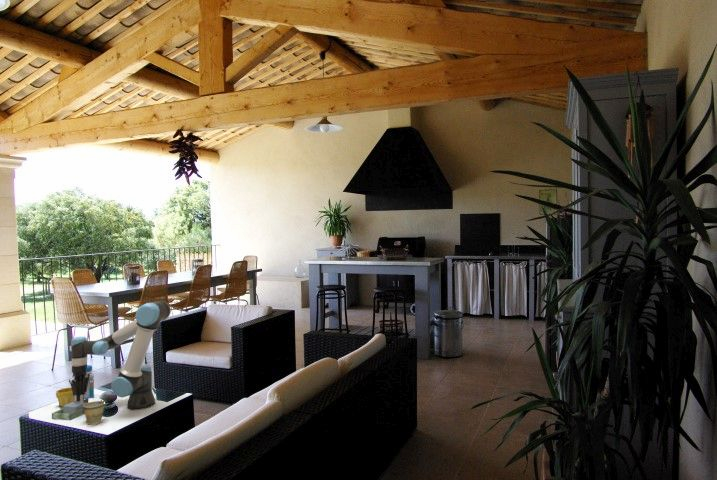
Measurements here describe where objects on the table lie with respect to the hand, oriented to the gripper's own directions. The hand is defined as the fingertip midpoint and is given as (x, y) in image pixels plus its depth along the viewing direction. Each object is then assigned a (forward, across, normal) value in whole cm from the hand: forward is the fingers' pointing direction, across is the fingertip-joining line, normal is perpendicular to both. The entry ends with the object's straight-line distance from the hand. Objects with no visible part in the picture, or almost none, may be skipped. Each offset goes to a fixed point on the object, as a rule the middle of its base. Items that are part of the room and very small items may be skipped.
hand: (80, 406), depth 271 cm
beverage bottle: (+4, -22, -16) cm, 27 cm away
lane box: (+4, +1, 0) cm, 4 cm away
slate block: (+2, +4, 0) cm, 5 cm away
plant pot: (+4, -8, -17) cm, 19 cm away
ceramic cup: (+4, +10, +20) cm, 23 cm away
